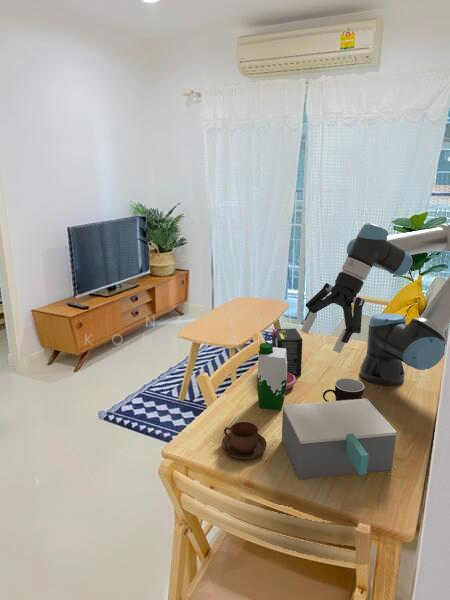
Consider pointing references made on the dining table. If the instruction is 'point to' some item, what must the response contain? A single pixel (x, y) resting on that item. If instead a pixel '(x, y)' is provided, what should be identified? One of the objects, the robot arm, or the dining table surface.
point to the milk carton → (272, 376)
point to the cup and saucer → (243, 441)
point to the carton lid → (339, 425)
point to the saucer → (290, 380)
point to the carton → (334, 454)
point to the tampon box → (289, 348)
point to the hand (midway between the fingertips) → (319, 341)
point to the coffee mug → (347, 389)
